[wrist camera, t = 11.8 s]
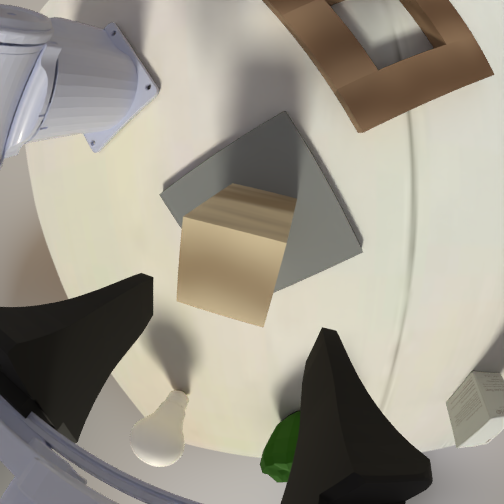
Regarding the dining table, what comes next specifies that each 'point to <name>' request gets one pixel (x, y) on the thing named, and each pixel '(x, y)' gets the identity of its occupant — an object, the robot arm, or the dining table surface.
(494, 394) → the product box
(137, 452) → the lightbulb
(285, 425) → the bell pepper
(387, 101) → the holder
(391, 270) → the dining table surface
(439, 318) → the dining table surface
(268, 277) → the peg
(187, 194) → the mat
